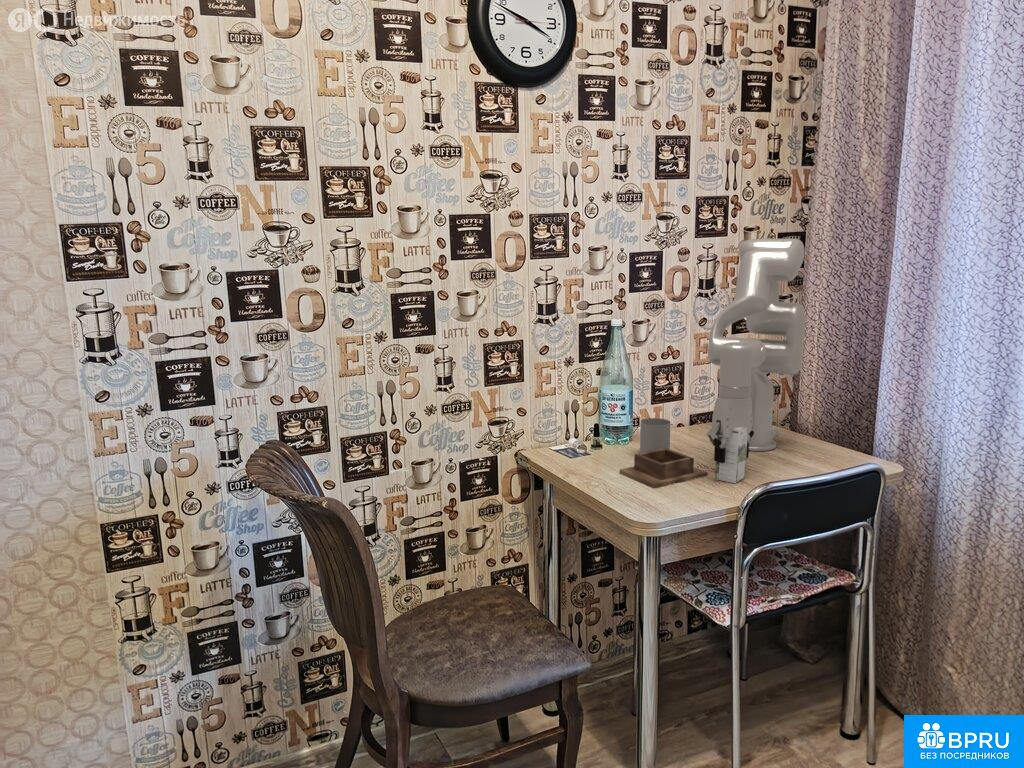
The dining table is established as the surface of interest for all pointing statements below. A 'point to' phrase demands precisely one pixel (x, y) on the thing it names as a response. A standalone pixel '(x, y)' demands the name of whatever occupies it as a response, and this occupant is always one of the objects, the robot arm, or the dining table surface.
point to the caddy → (662, 468)
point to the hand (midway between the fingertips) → (731, 458)
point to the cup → (654, 434)
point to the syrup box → (733, 457)
